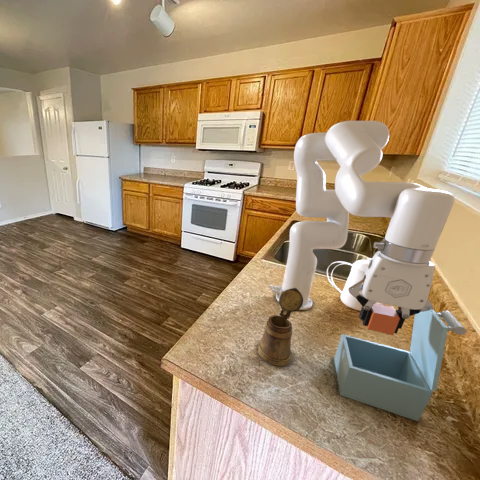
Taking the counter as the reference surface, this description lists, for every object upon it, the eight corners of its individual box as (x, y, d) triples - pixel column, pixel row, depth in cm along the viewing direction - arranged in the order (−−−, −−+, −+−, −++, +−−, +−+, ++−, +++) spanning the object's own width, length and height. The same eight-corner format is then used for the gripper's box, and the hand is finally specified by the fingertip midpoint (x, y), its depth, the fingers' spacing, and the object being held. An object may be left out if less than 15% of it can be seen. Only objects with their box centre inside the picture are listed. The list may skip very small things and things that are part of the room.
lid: (442, 327, 50) (478, 331, 48) (417, 294, 61) (446, 296, 59) (431, 390, 55) (464, 396, 53) (409, 350, 65) (436, 353, 63)
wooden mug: (300, 345, 79) (313, 293, 73) (283, 371, 70) (296, 315, 64) (271, 331, 85) (280, 282, 79) (252, 353, 76) (260, 300, 70)
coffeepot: (400, 327, 87) (420, 277, 80) (317, 296, 104) (328, 253, 97) (403, 313, 94) (422, 265, 87) (325, 286, 111) (336, 245, 104)
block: (367, 329, 58) (373, 312, 57) (363, 317, 62) (369, 301, 61) (393, 335, 57) (400, 318, 55) (387, 323, 60) (393, 307, 59)
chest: (340, 395, 64) (349, 367, 61) (334, 358, 74) (341, 333, 71) (418, 421, 58) (433, 392, 55) (399, 378, 68) (411, 351, 65)
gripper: (358, 250, 53) (335, 324, 60) (474, 268, 46) (434, 349, 53) (351, 238, 59) (332, 306, 66) (453, 252, 52) (420, 327, 59)
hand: (378, 325), depth 59 cm, fingers closed on block, 4 cm apart
